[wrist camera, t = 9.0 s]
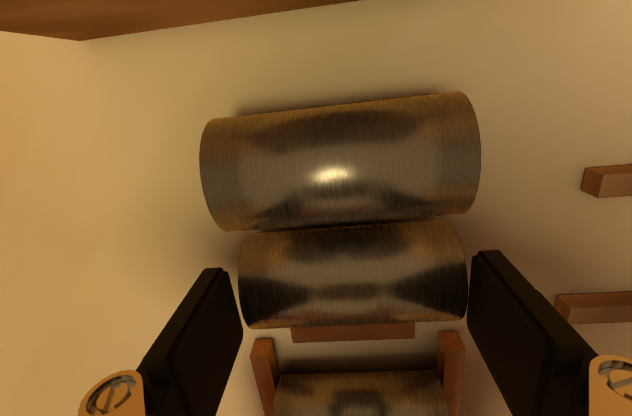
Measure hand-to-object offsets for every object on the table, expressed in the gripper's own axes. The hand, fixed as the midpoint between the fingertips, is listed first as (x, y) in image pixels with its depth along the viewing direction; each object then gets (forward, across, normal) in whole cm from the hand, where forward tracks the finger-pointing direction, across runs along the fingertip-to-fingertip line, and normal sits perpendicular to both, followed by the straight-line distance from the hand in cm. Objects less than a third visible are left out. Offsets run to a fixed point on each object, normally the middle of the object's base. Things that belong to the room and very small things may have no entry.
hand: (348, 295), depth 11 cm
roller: (+2, 0, 0) cm, 2 cm away
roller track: (+2, 0, +7) cm, 7 cm away
